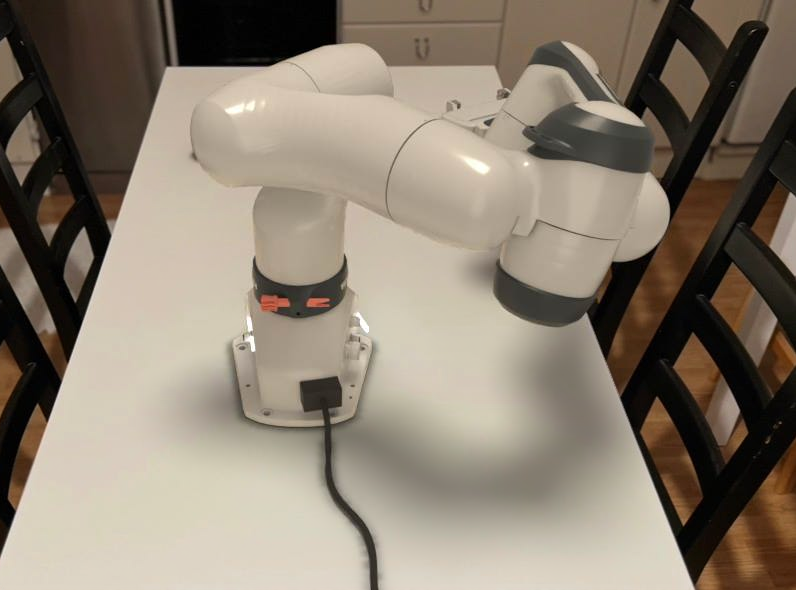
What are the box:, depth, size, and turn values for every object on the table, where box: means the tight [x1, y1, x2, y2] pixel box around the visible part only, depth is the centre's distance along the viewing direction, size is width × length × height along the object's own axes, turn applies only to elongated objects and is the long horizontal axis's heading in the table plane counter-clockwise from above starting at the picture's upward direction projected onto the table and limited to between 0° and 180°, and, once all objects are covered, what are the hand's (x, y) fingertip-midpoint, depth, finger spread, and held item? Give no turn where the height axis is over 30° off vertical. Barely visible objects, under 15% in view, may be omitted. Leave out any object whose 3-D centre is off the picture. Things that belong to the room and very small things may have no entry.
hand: (475, 99), depth 144 cm, fingers open, 8 cm apart
